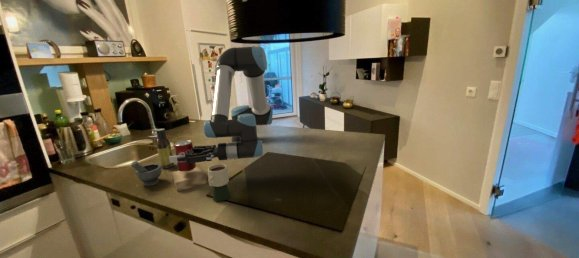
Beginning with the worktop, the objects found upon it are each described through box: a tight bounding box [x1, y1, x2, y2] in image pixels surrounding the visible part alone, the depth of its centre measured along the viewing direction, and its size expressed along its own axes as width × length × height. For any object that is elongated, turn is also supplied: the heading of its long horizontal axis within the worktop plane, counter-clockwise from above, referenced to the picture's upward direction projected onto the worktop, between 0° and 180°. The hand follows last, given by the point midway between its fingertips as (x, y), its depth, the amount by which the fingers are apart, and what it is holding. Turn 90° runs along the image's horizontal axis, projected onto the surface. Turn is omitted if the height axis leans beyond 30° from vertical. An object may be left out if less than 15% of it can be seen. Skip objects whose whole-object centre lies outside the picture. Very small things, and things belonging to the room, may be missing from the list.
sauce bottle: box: [155, 128, 175, 169], centre depth 121 cm, size 6×6×20 cm
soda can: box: [173, 140, 197, 172], centre depth 103 cm, size 7×7×12 cm
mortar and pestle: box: [130, 160, 162, 187], centre depth 105 cm, size 11×9×12 cm
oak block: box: [171, 165, 208, 192], centre depth 105 cm, size 12×12×4 cm
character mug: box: [207, 163, 231, 202], centre depth 90 cm, size 11×7×13 cm, turn 161°
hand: (173, 156), depth 102 cm, fingers closed on soda can, 7 cm apart
